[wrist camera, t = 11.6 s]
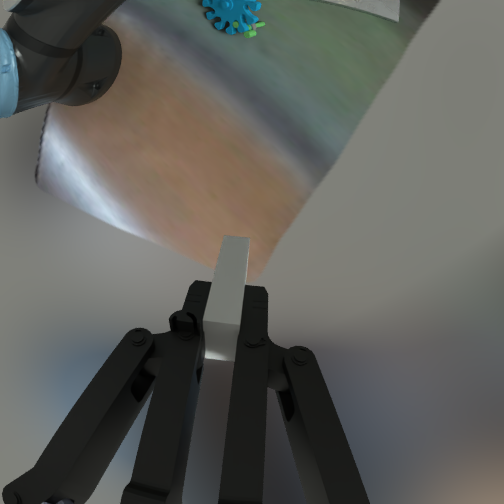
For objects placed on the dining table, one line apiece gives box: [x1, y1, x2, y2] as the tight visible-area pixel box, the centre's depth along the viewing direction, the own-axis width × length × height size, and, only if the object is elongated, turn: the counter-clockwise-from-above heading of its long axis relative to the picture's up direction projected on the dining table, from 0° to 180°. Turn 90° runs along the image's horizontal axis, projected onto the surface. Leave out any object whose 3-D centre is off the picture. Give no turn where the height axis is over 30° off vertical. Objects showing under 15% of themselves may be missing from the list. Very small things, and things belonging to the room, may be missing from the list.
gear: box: [203, 0, 265, 38], centre depth 27 cm, size 11×6×10 cm
